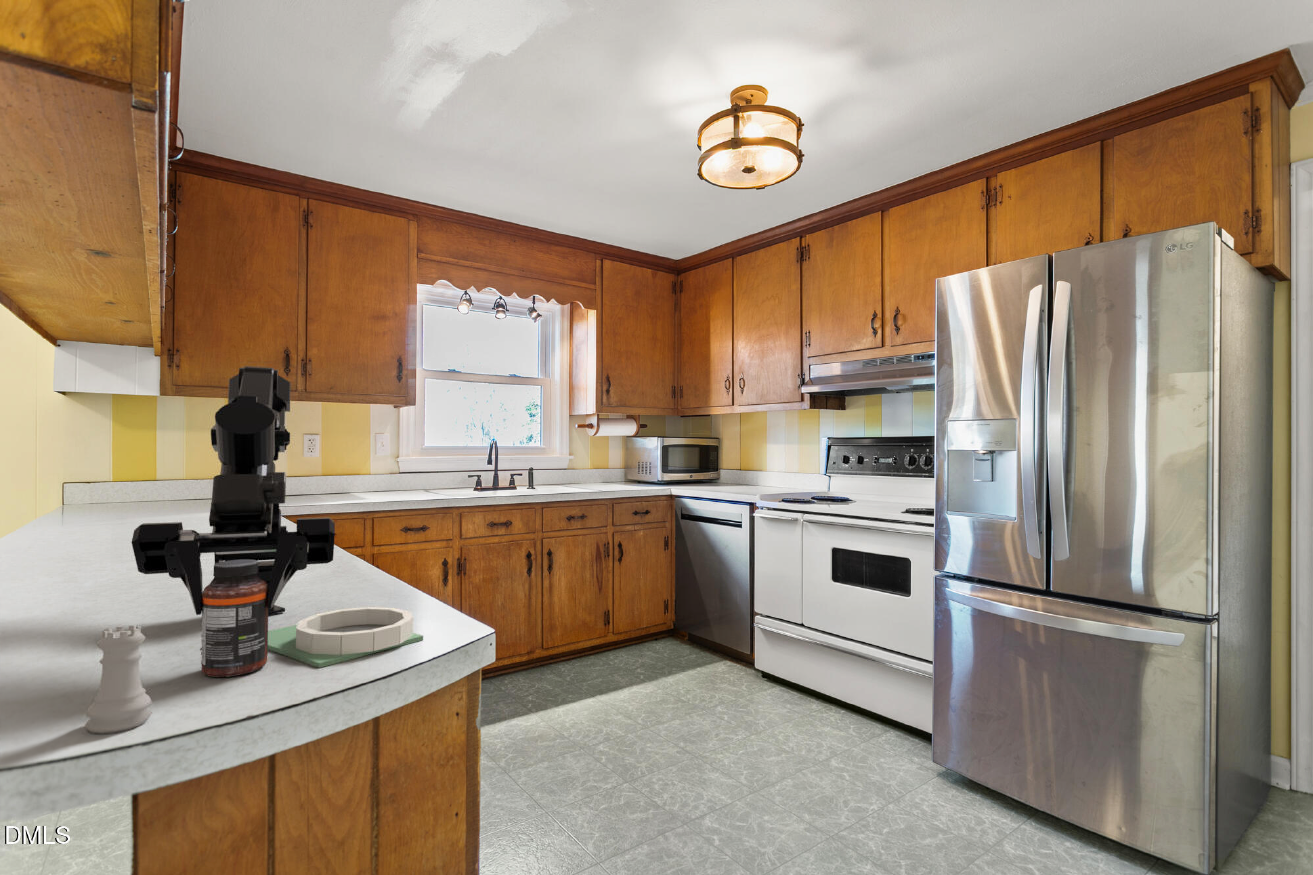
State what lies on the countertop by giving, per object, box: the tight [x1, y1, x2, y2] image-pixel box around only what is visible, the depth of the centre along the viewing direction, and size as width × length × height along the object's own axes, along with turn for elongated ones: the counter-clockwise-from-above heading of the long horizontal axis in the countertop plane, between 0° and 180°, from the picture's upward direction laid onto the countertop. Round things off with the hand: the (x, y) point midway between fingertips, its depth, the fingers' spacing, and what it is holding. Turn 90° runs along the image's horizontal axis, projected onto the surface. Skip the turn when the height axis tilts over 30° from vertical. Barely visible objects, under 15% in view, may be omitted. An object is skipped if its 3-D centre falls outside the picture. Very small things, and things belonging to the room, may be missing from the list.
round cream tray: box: [296, 606, 414, 655], centre depth 80 cm, size 13×13×2 cm
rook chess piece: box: [84, 624, 153, 735], centre depth 56 cm, size 4×4×8 cm
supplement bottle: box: [199, 559, 269, 678], centre depth 70 cm, size 6×6×11 cm
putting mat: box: [268, 624, 424, 669], centre depth 81 cm, size 17×13×1 cm
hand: (234, 609), depth 69 cm, fingers closed on supplement bottle, 6 cm apart
